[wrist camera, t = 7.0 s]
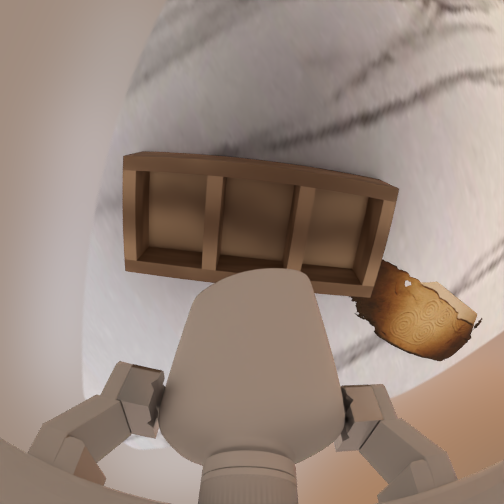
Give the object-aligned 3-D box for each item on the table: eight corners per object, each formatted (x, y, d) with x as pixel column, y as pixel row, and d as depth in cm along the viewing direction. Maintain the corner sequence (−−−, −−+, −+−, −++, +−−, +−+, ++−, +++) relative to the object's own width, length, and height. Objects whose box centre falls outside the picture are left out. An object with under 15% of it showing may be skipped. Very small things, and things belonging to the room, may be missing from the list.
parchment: (483, 319, 34) (486, 322, 33) (442, 368, 37) (444, 371, 36) (375, 233, 30) (378, 236, 29) (323, 306, 33) (324, 310, 32)
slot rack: (142, 151, 26) (123, 155, 22) (379, 179, 27) (399, 188, 23) (141, 252, 30) (125, 270, 26) (357, 276, 31) (370, 297, 27)
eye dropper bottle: (296, 344, 15) (323, 576, 4) (190, 323, 15) (127, 560, 4) (323, 273, 14) (414, 548, 3) (203, 246, 13) (96, 543, 2)
